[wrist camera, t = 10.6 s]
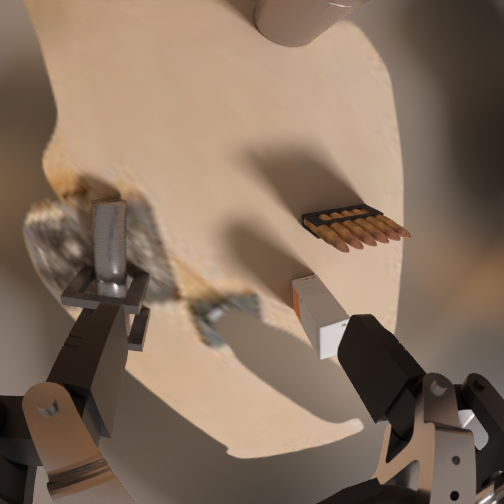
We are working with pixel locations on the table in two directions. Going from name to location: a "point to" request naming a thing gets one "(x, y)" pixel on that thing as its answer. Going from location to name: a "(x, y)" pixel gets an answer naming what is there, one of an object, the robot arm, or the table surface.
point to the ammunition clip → (353, 227)
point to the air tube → (110, 249)
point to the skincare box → (319, 315)
